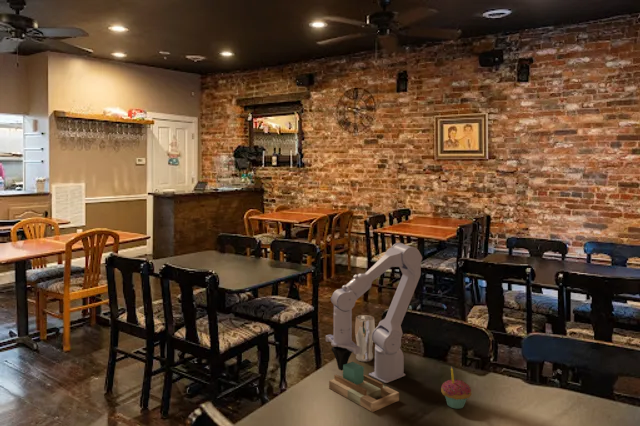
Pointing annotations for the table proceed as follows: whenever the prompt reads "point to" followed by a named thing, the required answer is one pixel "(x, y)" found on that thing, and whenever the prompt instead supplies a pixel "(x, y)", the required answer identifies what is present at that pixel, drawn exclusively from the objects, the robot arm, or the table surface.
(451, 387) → the cupcake
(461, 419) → the table surface
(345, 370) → the teal block
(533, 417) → the table surface
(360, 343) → the beer glass
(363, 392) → the channel board
